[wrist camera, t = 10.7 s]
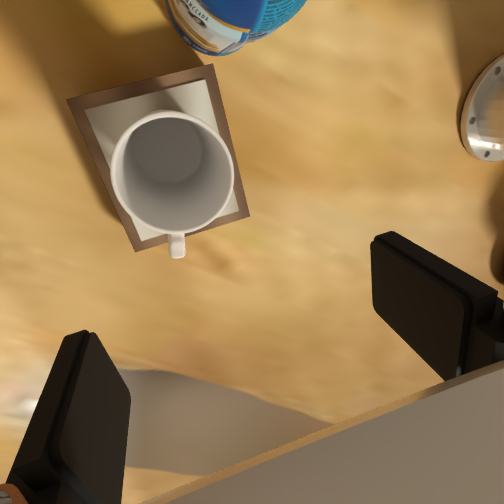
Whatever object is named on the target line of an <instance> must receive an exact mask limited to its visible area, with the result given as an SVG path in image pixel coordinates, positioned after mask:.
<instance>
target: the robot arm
mask: <svg viewBox="0 0 504 504" xmlns="http://www.w3.org/2000/svg"><path fill="white" fill-rule="evenodd" d="M461 137H462V141H463V144H464V146H465V148H466V150H467V151H468V152H469V154H470V155H472V156H473V157H475V158H476V159H479V160H483V161H490V162H494V161H500V160H504V55H502V56H500V57H498V58H497V59H496V60H494V61H493V62H492V63H490V64H489V65H488V66H487V67H486V68H485V70H484V71H483V72H482V73H481V74H480V76H479V77H478V78H477V80H476V81H475V83H474V84H473V86H472V88H471V90H470V92H469V94H468V96H467V99H466V101H465V104H464V108H463V111H462V117H461ZM370 250H371V275H372V300H373V307H374V309H375V311H376V313H377V314H378V315H379V316H380V317H381V318H382V319H383V320H384V321H385V322H386V323H387V324H388V325H389V326H390V327H391V328H392V329H393V330H394V331H395V332H396V333H397V334H398V335H399V336H400V337H401V338H402V339H403V340H404V341H405V342H406V343H407V344H408V345H409V346H410V347H411V348H412V349H413V350H414V351H415V352H416V353H417V354H418V355H419V356H420V357H421V358H422V359H423V360H424V361H425V362H426V363H427V364H428V365H429V366H430V367H431V368H432V369H433V370H434V371H435V372H436V373H437V374H438V375H439V376H440V377H441V378H442V379H443V380H444V381H445V382H443V383H440V384H437V385H435V386H432V387H430V388H427V389H425V390H422V391H420V392H417V393H414V394H412V395H409V396H407V397H404V398H402V399H399V400H396V401H394V402H391V403H389V404H386V405H384V406H381V407H379V408H376V409H373V410H371V411H368V412H366V413H363V414H361V415H358V416H356V417H353V418H351V419H348V420H346V421H343V422H341V423H338V424H336V425H333V426H331V427H328V428H326V429H323V430H320V431H318V432H315V433H313V434H310V435H308V436H305V437H303V438H300V439H298V440H295V441H293V442H290V443H288V444H285V445H283V446H280V447H278V448H275V449H273V450H270V451H268V452H265V453H263V454H260V455H258V456H255V457H253V458H250V459H248V460H245V461H243V462H240V463H238V464H235V465H233V466H230V467H228V468H226V469H223V470H221V471H218V472H216V473H213V474H211V475H208V476H206V477H203V478H201V479H198V480H196V481H193V482H191V483H188V484H186V485H183V486H181V487H178V488H176V489H174V490H171V491H169V492H166V493H164V494H161V495H159V496H157V497H154V498H152V499H149V500H147V501H145V502H142V503H140V504H504V300H502V299H500V298H498V297H497V295H498V291H497V290H495V289H493V288H492V287H490V286H488V285H486V284H485V283H483V282H481V281H479V280H478V279H476V278H474V277H473V276H471V275H469V274H467V273H466V272H464V271H462V270H460V269H459V268H457V267H455V266H453V265H452V264H450V263H448V262H446V261H445V260H443V259H441V258H439V257H438V256H436V255H434V254H432V253H431V252H429V251H427V250H426V249H424V248H422V247H420V246H419V245H417V244H415V243H413V242H412V241H410V240H408V239H406V238H405V237H403V236H401V235H399V234H398V233H396V232H394V231H389V232H386V233H383V234H380V235H377V236H375V238H374V241H372V242H371V244H370ZM130 405H131V396H130V392H129V390H128V388H127V386H126V384H125V383H124V381H123V379H122V377H121V376H120V374H119V372H118V371H117V369H116V367H115V365H114V364H113V362H112V360H111V359H110V357H109V355H108V353H107V352H106V350H105V348H104V347H103V345H102V343H101V341H100V340H99V338H98V336H97V335H96V333H94V332H91V333H89V332H88V331H87V330H82V331H79V332H76V333H73V334H70V335H67V336H65V337H64V339H63V341H62V344H61V346H60V349H59V351H58V354H57V356H56V359H55V361H54V364H53V366H52V369H51V371H50V374H49V376H48V379H47V381H46V384H45V386H44V389H43V391H42V394H41V396H40V398H39V401H38V403H37V406H36V408H35V411H34V413H33V416H32V418H31V421H30V423H29V426H28V428H27V431H26V433H25V436H24V438H23V441H22V443H21V446H20V448H19V451H18V453H17V456H16V458H15V461H14V463H13V466H12V468H11V471H10V473H9V476H8V478H7V481H6V483H3V484H0V504H121V498H122V488H123V478H124V467H125V456H126V446H127V436H128V426H129V415H130Z"/></svg>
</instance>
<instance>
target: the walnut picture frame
mask: <svg viewBox="0 0 504 504" xmlns="http://www.w3.org/2000/svg"><path fill="white" fill-rule="evenodd" d="M66 100H67V103H68V105H69V107H70V109H71V112H72V114H73V116H74V118H75V120H76V123H77V125H78V127H79V129H80V131H81V134H82V136H83V138H84V140H85V142H86V145H87V147H88V149H89V151H90V153H91V156H92V158H93V160H94V162H95V165H96V167H97V169H98V171H99V173H100V176H101V178H102V180H103V182H104V184H105V187H106V189H107V191H108V193H109V195H110V198H111V200H112V202H113V204H114V207H115V209H116V211H117V213H118V215H119V218H120V220H121V222H122V224H123V226H124V229H125V231H126V233H127V235H128V237H129V240H130V242H131V244H132V246H133V248H134V251H135V252H138V251H141V250H145V249H148V248H151V247H154V246H157V245H160V244H164V243H167V242H169V241H168V234H166V233H161V232H157V231H154V230H152V229H149V228H147V227H145V226H143V225H142V224H140V223H139V222H137V221H136V220H134V219H133V218H132V217H131V216H130V215H129V214H128V213H127V212H126V211H125V210H124V208H123V207H122V205H121V204H120V202H119V201H118V199H117V197H116V195H115V192H114V190H113V186H112V182H111V175H110V164H111V158H112V154H113V150H114V148H115V145H116V143H117V141H118V140H119V138H120V137H121V135H122V134H123V133H124V131H125V130H126V129H127V128H128V127H129V126H130V125H132V124H133V123H134V122H135V121H137V120H138V119H140V118H142V117H143V116H144V115H146V114H148V113H150V112H153V111H157V110H174V111H178V112H182V113H186V114H189V115H192V116H194V117H197V118H199V119H200V120H202V121H204V122H205V123H207V124H208V125H209V126H211V127H212V128H213V129H214V130H215V131H216V132H217V133H218V134H219V135H220V137H221V138H222V139H223V141H224V143H225V144H226V146H227V148H228V150H229V152H230V155H231V158H232V162H233V167H234V184H233V189H232V193H231V196H230V198H229V201H228V203H227V204H226V206H225V208H224V209H223V211H222V212H221V213H220V214H219V215H218V216H217V217H216V218H215V219H214V220H213V221H212V222H210V223H209V224H208V225H206V226H204V227H202V228H200V229H198V230H196V231H193V232H189V233H185V235H184V237H186V236H189V235H192V234H195V233H199V232H202V231H205V230H208V229H211V228H214V227H218V226H221V225H224V224H227V223H230V222H234V221H237V220H240V219H243V218H246V217H249V216H250V214H249V210H248V206H247V202H246V197H245V193H244V189H243V185H242V181H241V177H240V173H239V169H238V164H237V160H236V156H235V152H234V148H233V144H232V140H231V136H230V132H229V127H228V123H227V119H226V115H225V111H224V107H223V103H222V99H221V94H220V90H219V86H218V82H217V78H216V74H215V70H214V66H213V63H212V64H208V65H204V66H200V67H196V68H192V69H188V70H184V71H180V72H176V73H172V74H167V75H163V76H159V77H155V78H151V79H147V80H143V81H139V82H135V83H131V84H127V85H123V86H119V87H114V88H110V89H106V90H102V91H98V92H94V93H90V94H86V95H82V96H78V97H74V98H70V99H66Z"/></svg>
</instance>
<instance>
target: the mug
mask: <svg viewBox="0 0 504 504" xmlns="http://www.w3.org/2000/svg"><path fill="white" fill-rule="evenodd" d="M110 175H111V182H112V186H113V190H114V192H115V195H116V197H117V199H118V201H119V202H120V204H121V205H122V207H123V208H124V210H125V211H126V212H127V213H128V214H129V215H130V216H131V217H132V218H133V219H134V220H136V221H137V222H139V223H140V224H142V225H143V226H145V227H147V228H149V229H152V230H154V231H157V232H161V233H166V234H168V241H169V252H170V256H171V257H172V258H182V257H184V256H185V238H184V235H185V233H189V232H193V231H196V230H198V229H200V228H202V227H204V226H206V225H208V224H209V223H210V222H212V221H213V220H214V219H215V218H216V217H217V216H218V215H219V214H220V213H221V212H222V211H223V209H224V208H225V206H226V204H227V203H228V201H229V198H230V196H231V193H232V189H233V184H234V167H233V162H232V158H231V155H230V152H229V150H228V148H227V146H226V144H225V143H224V141H223V139H222V138H221V137H220V135H219V134H218V133H217V132H216V131H215V130H214V129H213V128H212V127H211V126H209V125H208V124H207V123H205V122H204V121H202V120H200V119H199V118H197V117H194V116H192V115H189V114H186V113H182V112H178V111H174V110H157V111H153V112H150V113H148V114H146V115H144V116H143V117H142V118H140V119H138V120H137V121H135V122H134V123H133V124H132V125H130V126H129V127H128V128H127V129H126V130H125V131H124V133H123V134H122V135H121V137H120V138H119V140H118V141H117V143H116V145H115V148H114V150H113V154H112V158H111V164H110Z"/></svg>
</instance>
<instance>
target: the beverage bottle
mask: <svg viewBox="0 0 504 504" xmlns="http://www.w3.org/2000/svg"><path fill="white" fill-rule="evenodd" d="M306 1H307V0H166V6H167V10H168V14H169V17H170V19H171V22H172V24H173V26H174V28H175V29H176V31H177V32H178V34H179V35H180V36H181V38H182V39H183V40H184V41H185V42H186V43H187V44H188V45H189V46H191V47H192V48H193V49H195V50H197V51H198V52H201V53H203V54H206V55H210V56H224V55H228V54H231V53H233V52H235V51H237V50H239V49H240V48H242V47H243V46H244V45H245V44H246V43H248V42H254V41H257V40H260V39H262V38H264V37H266V36H268V35H270V34H271V33H273V32H274V31H275V30H277V29H278V28H279V27H280V26H281V25H283V24H284V23H286V22H287V21H288V20H290V19H291V18H292V17H293V16H294V15H295V14H296V13H297V12H298V11H299V10H300V9H301V7H302V6H303V5H304V3H305V2H306Z"/></svg>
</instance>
